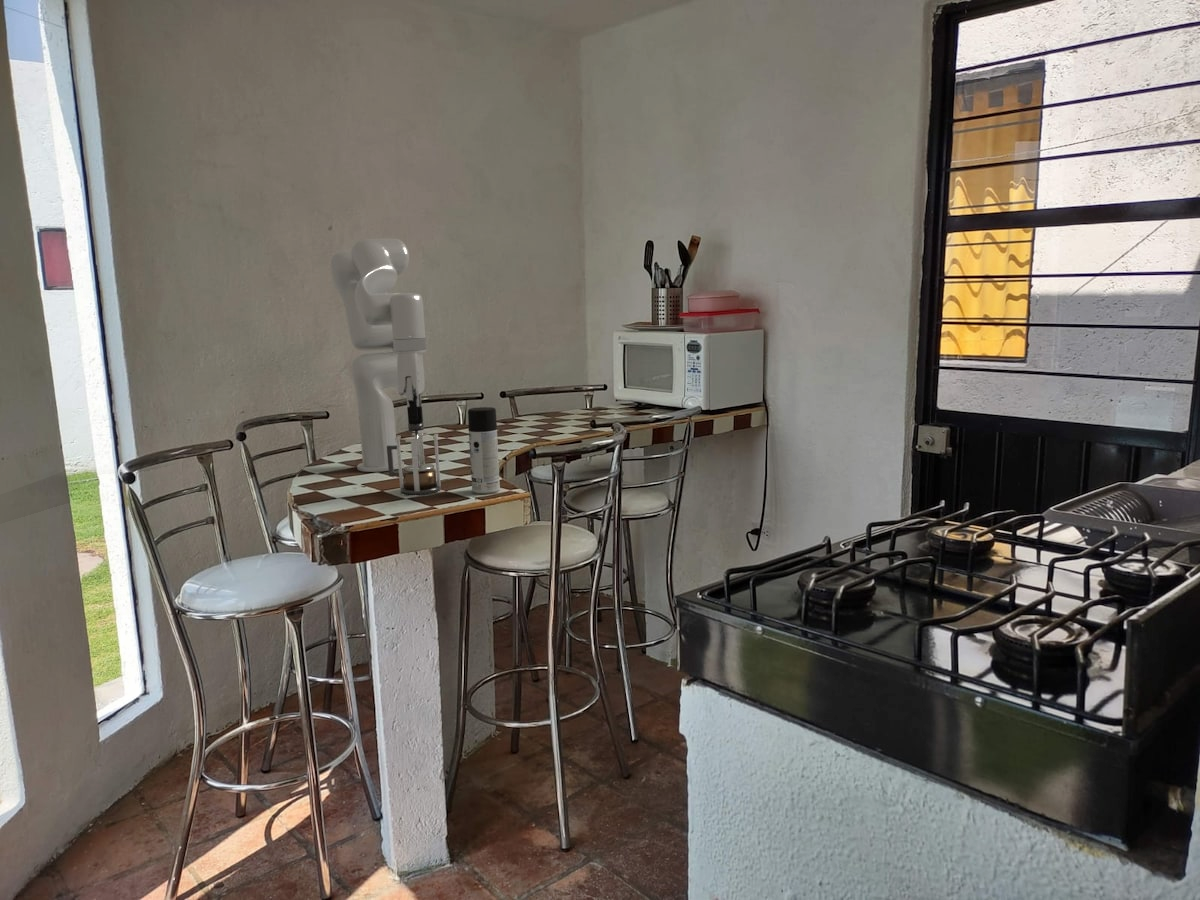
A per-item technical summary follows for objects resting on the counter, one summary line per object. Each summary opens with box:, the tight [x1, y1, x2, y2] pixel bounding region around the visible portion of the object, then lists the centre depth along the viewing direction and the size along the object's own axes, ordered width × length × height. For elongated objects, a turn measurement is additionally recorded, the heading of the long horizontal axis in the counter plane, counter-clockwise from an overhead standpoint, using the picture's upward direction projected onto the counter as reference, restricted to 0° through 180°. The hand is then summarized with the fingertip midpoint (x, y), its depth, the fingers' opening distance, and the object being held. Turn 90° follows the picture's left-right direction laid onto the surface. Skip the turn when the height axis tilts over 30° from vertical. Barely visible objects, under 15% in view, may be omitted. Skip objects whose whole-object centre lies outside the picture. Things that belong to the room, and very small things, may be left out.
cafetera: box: [387, 431, 442, 496], centre depth 210 cm, size 10×12×14 cm
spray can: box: [467, 406, 501, 495], centre depth 206 cm, size 7×7×20 cm
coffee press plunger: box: [403, 421, 435, 472], centre depth 209 cm, size 7×7×11 cm
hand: (415, 423), depth 208 cm, fingers closed
